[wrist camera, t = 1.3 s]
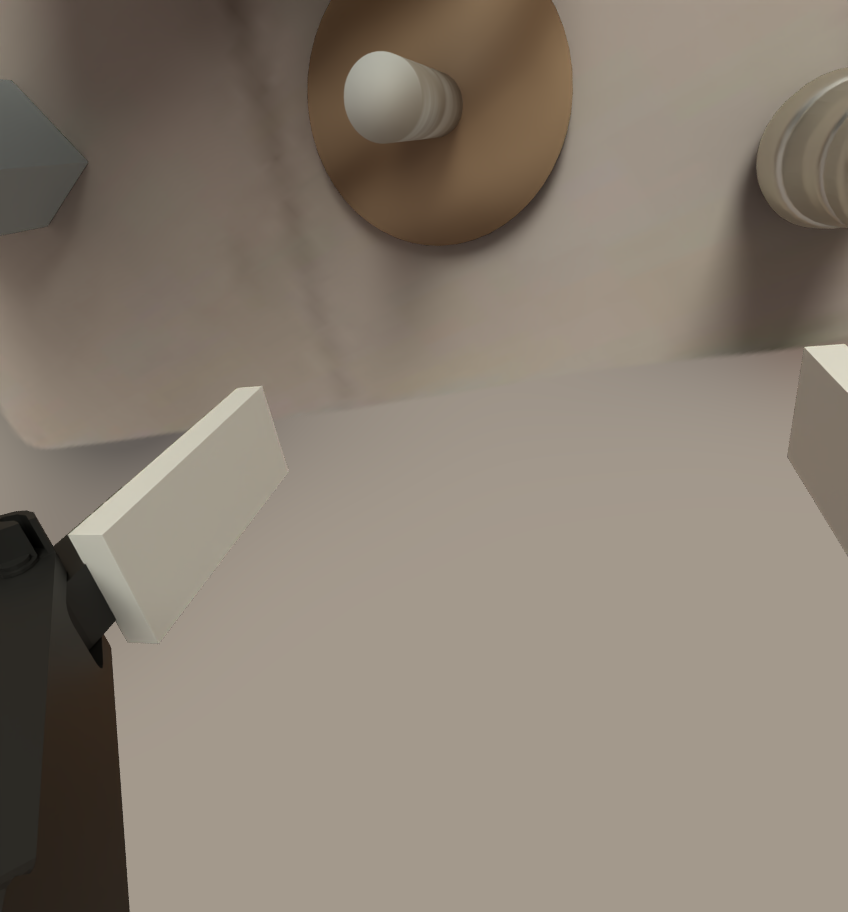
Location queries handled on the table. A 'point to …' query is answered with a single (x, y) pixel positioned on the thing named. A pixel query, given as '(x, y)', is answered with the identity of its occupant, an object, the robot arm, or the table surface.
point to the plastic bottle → (809, 155)
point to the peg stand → (439, 110)
